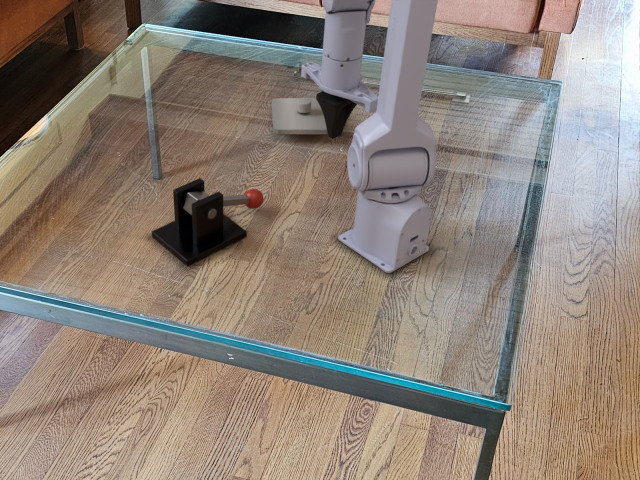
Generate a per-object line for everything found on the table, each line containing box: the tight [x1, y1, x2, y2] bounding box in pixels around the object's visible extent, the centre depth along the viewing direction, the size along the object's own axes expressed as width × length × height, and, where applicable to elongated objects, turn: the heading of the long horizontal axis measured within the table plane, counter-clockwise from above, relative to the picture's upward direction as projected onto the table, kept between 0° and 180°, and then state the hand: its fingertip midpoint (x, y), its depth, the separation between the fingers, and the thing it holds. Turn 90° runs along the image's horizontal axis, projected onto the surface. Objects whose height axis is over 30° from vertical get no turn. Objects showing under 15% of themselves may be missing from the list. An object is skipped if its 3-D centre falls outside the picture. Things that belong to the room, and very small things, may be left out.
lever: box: [183, 188, 264, 215], centre depth 113 cm, size 13×3×3 cm, turn 130°
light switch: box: [270, 97, 328, 135], centre depth 133 cm, size 10×10×5 cm
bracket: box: [151, 177, 248, 267], centre depth 110 cm, size 10×8×7 cm
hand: (334, 135), depth 129 cm, fingers closed
